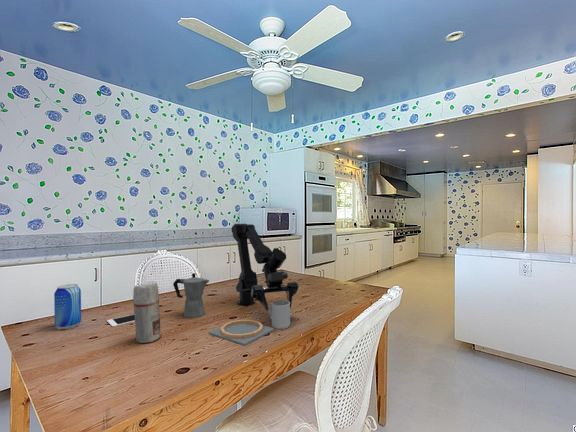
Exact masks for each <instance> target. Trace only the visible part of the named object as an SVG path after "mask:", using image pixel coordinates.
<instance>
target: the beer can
mask: <svg viewBox="0 0 576 432" xmlns="http://www.w3.org/2000/svg"><path fill="white" fill-rule="evenodd" d="M54 291H55V292H54V294H53V297H54V298H53V299H54V302H53V304H54V309H53V311H54V327H56V330H59V329H66V330H70V329H69V328H71V329H73V328H72V327H74V328H77V327H79V326H80V323H81V322H82V290H81V288H80V287H79V284H77V283H68V284H63V285H58V286H57V287H56V290H54ZM76 326H77V327H76Z"/></svg>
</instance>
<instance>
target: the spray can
mask: <svg viewBox="0 0 576 432" xmlns="http://www.w3.org/2000/svg"><path fill="white" fill-rule="evenodd" d="M159 295H160V294H159V286H158V283H157V282H156V281H155V280H150V281H148V282H144V283H142V284H139V285H134V287H133V294H132V297H133V298H132V301H133V310H134V312H133V314H135V322H134V328H135V329H134V331H135V342H136V343H139V344H147V343H148V344H149V343H151V342H155V341H157V340H159V339H160V338H161V337H162V334H161V316H160V315H161V314H160V313H161V312H160V310H161V309H160V296H159Z"/></svg>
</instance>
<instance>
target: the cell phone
mask: <svg viewBox="0 0 576 432" xmlns="http://www.w3.org/2000/svg"><path fill="white" fill-rule="evenodd" d="M106 322H108V323H109V324H110V325H111V326H112V327H111V326H110V325H109V324H108V323H107V324H108V325H109V326H110V327H111V328H116V327H120V326H124V324H125V325H129V324H133V323H135V314H134V313H133V314H129V315H124V316H120V317H115V318H111V319H108V320H106ZM128 323H129V324H128ZM119 325H120V326H119ZM115 326H116V327H115Z"/></svg>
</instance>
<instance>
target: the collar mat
mask: <svg viewBox="0 0 576 432" xmlns="http://www.w3.org/2000/svg"><path fill="white" fill-rule="evenodd" d="M275 330H276V329H275V328H273V327H271V326H266V325H264V324H262V323H261V322H260V321H257V320H253V319H241V318H240V319H237V320H232V321H228V322H227V323H224V324H223V325H222V326H219V327H217V328H215V329H212V330H210V331H208V335H211V336H214V337H218V338H220V339H223V340H226V341H229V342H232V343H236V344H238V345H242V346H244V347H245V346H247V345H249V344H251V343H253V342H255V341H257V340H259V339H260V338H262V337H264V336H266V335H268V334H270V333H272V332H273V331H275Z"/></svg>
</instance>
